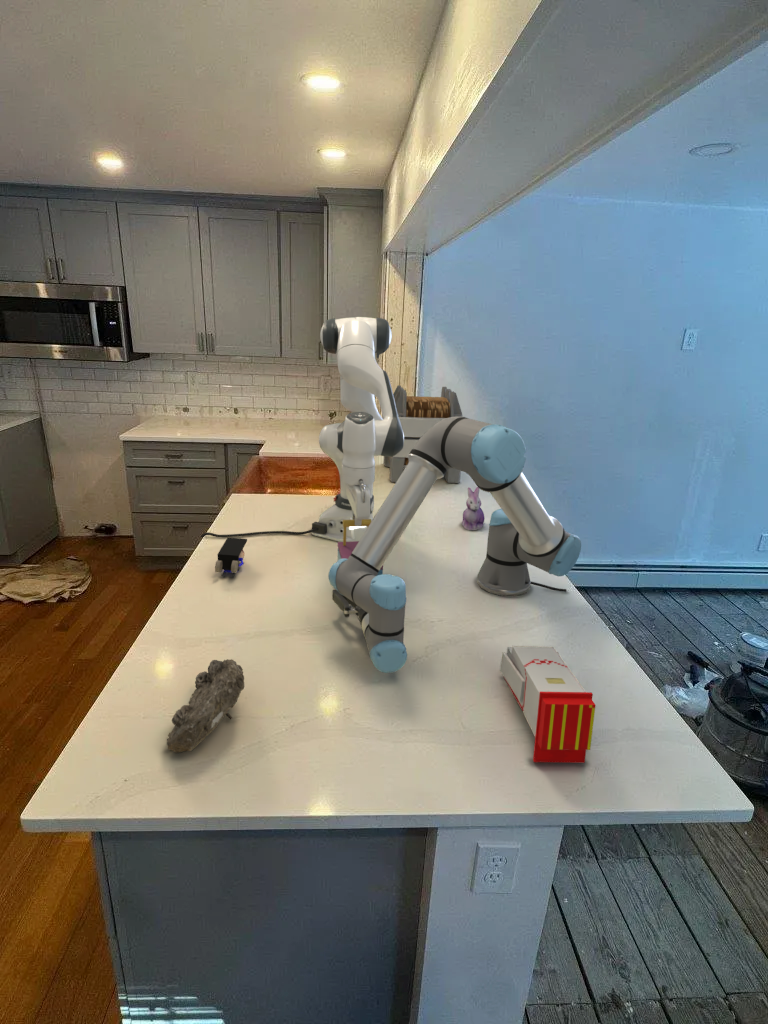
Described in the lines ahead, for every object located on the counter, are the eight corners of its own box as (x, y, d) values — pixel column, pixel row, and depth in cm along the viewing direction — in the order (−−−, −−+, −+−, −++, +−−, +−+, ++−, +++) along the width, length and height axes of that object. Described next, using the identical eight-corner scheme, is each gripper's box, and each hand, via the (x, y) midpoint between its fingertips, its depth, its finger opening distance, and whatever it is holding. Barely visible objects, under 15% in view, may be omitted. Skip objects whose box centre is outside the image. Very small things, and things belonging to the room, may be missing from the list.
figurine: (470, 532, 203) (474, 493, 198) (454, 523, 212) (457, 484, 207) (491, 529, 208) (495, 490, 202) (474, 520, 216) (478, 482, 211)
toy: (549, 628, 125) (605, 700, 96) (544, 683, 128) (596, 770, 99) (495, 627, 125) (534, 699, 95) (491, 683, 128) (527, 769, 98)
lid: (337, 545, 160) (337, 517, 157) (372, 544, 162) (373, 516, 159) (344, 571, 146) (345, 540, 143) (383, 569, 148) (384, 539, 145)
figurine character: (238, 584, 162) (249, 557, 175) (236, 562, 158) (247, 536, 172) (215, 584, 161) (227, 556, 175) (212, 561, 158) (225, 535, 171)
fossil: (192, 660, 117) (244, 628, 112) (224, 691, 120) (276, 661, 115) (142, 746, 98) (202, 712, 93) (182, 779, 101) (242, 748, 96)
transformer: (382, 463, 289) (386, 382, 275) (445, 464, 293) (451, 384, 279) (390, 482, 257) (394, 392, 243) (460, 483, 261) (468, 394, 247)
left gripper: (377, 486, 142) (374, 537, 147) (363, 464, 161) (362, 509, 166) (352, 487, 141) (350, 538, 146) (341, 464, 160) (340, 510, 164)
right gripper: (328, 640, 130) (318, 594, 151) (423, 633, 135) (401, 589, 155) (328, 611, 128) (319, 568, 148) (425, 605, 132) (403, 564, 153)
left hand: (356, 522), depth 156 cm, fingers closed on lid, 2 cm apart
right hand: (361, 579), depth 152 cm, fingers closed on chest, 10 cm apart
